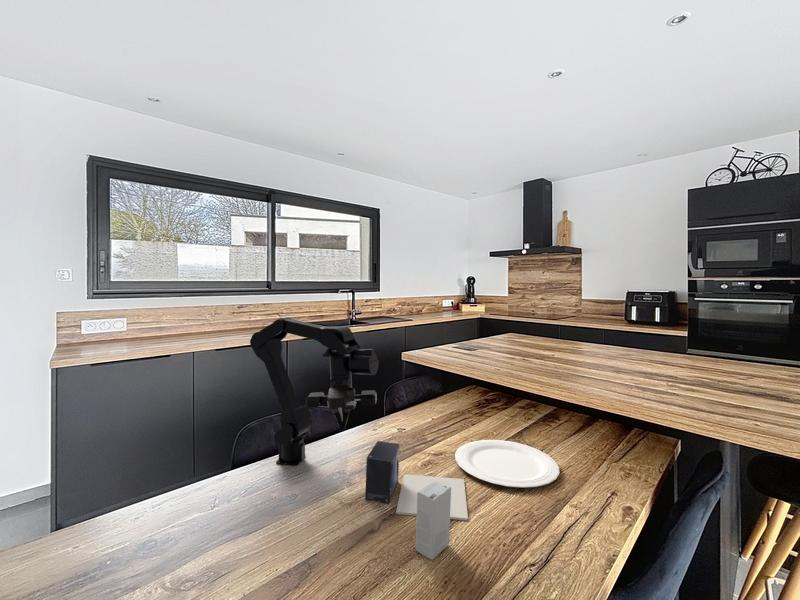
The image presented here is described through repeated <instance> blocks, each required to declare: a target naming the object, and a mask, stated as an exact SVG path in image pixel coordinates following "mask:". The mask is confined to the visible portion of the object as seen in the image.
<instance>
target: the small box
mask: <svg viewBox="0 0 800 600" xmlns="http://www.w3.org/2000/svg"><path fill="white" fill-rule="evenodd" d="M365 465H366V466H365V467H366V469H365V492H364V500H365V501H372V502H376V503H381V504H382V503H383V504H390V503H391V500H392V498H393V495H394V493H395V490H396V489H397V486H398V483H399V474H400V473H399V472H400V471H399V470H400V469H399V468H400V443H395V442H387V441H380V440H377V441H376V443H375V444H374V446H373V448H371V451H370V452H369V453H368V455H367V457H366V464H365Z"/></svg>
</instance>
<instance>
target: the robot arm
mask: <svg viewBox="0 0 800 600" xmlns="http://www.w3.org/2000/svg"><path fill="white" fill-rule="evenodd" d="M288 334H289V335H294V336H297V337H300V338H301V337H302V338H305V339H310V340H313V341H316V342H318V343H319V344H321V346H323V347H326V348H327V349H326V351H325V352H324V353H323V354H322V356H321V357H323V358H329V374H330V377H329V378H330V381H329V382H330V383H329V388H328V392H327V395H325V393H324V391H319V392H317V391H316V392H310V393H309V395H308V396H307V397H306V398H305V401H304V402H305V405H302V404H301V403H300V402H299V400H298V397H297V395H296V392H295V391H294V388H293V386H292V385H293V384H292V383H291V380H290V377H289V374H288V372H287V369H286V367H285V363H284V361H283V357H282V351H283V343H282V340H283V339H285V338H286V337H287V336H288ZM250 337H251V338H250V339H249V344H250V346H251V349H252V351H253V352H254V354H255V356H256V357H257V358H258V359H259V360H260V361H262V362H263V364H264V365H265V369H266V371H267V374H268V377H269V379H270V382H271V384H272V388H273V390H274V393H275V396H276V398H277V401H278V404H279V406H280V416H279V417H280V418H279V424H280V427H281V428H280V429H279V430H278V431H277V432H276V433H274V435H273V440H274V443H275V444H277V445H278V459H277V460H276V462H275V463H276V464H277V465H287V466H298V465H299V464H300V463H301V461H302V460H303V459H304V458H305V457H306V443H305V442H304V437H305V436H306V435H307V434H308V431H309V430H310V429H311V427H312V425H313V420H312V418H313V415H312V413H311V412H310V409H315V408H316V409H317V408H319V406H320V405H321V404H327V408H326V409H327V410H328V411H331V412H332V413H333V415H334V416H335V418H336V420H337V424H338V425H339V428H340V430H341V432H342V431H345V430H346V426H347V423H348V419H349V416H350V412H351V410H354V409H355V408H356V405H357V402H359V403H360V404H361V405H362V406H364V407H370V406H376V405H377V400H378V398H377V391H376V390H374V389H371V390H368V389H367V390H362V391H361V394H360V393H359V394H356V388H355V387H354V386H353V382H352V381H353V380H352V374H353V375H364V376H365V375H366V376H367V375H369V376H375V375H376V374H377V372H378V371H379V365H380V363H379V361H380V360H379V359H378V356H377V354H376V353H375V352H376V351H375V348H367V349H365V348H362V346H361V345H360V344H359V343H358V341H357V339H356V338H355V336H354V334H353V331H352V329H351V328H350V327H348V326H339V325H336V326H332V325H331V326H327V325H326V326H325V325H324V326H323V325H320V324H314V323H310V322H308V321H307V322H306V321H302V320H297V319H293V318H291V317H279V318H277V319H275V320H274V321H273V322H272V323H270V324H268V325H267V326H265V327H264V328H262V329H260V330H259V331H256V332H254V333H252V335H251V336H250Z"/></svg>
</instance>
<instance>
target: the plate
mask: <svg viewBox="0 0 800 600" xmlns="http://www.w3.org/2000/svg"><path fill="white" fill-rule="evenodd" d="M454 458H455V462H456V463H457V465H458V466H459V468H460V469H462V470H463V471H464V472H465V473H466V474H468V475H470V476H472V477H475V478H476V479H478V480H481V481H482V482H486V483H489V484H492V485H496V486H501V487H506V488H515V489H532V488H539V487H543V486H547V485H550V484H551V483H553V482H555V481H556V480H557V479H558V478H559V476H560V467H559V465H558V463H557V461H556V460H554V459H553V458H552V457H551V456H549V455H548V454H547V453H545V452H544V451H541V450H539V449H538V448H535V447H532V446H530V445H527V444H524V443H520V442H516V441H509V440H503V439H502V440H501V439H482V440H481V439H480V440H475V441H474V440H473V441H470V442H467V443H465V444H463V445H461V446H460V447H459V448H457V450H456V452H455V454H454Z"/></svg>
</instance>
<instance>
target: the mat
mask: <svg viewBox="0 0 800 600" xmlns="http://www.w3.org/2000/svg"><path fill="white" fill-rule="evenodd" d="M433 481H437V482H440V483H442V484H445V485H447V486H449V487H451V506H450V520H456V521H457V520H459V521H467V522H468V521H469V516H468V515H469V514H468V506H467V505H468V504H467V495H466V488H465V479H464V478H453V477H444V476H443V477H442V476H429V475H417V474H403V477H402V483H401V487H400V491H399V497H398V501H397V506H396V510H395V511H396V512H395V514H396V515H403V516H405V515H406V516H415V517H417V493H418V491H420V490H421V489H423V488H424V487H426V486H427V485H429V484H430V483H432V482H433Z"/></svg>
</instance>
